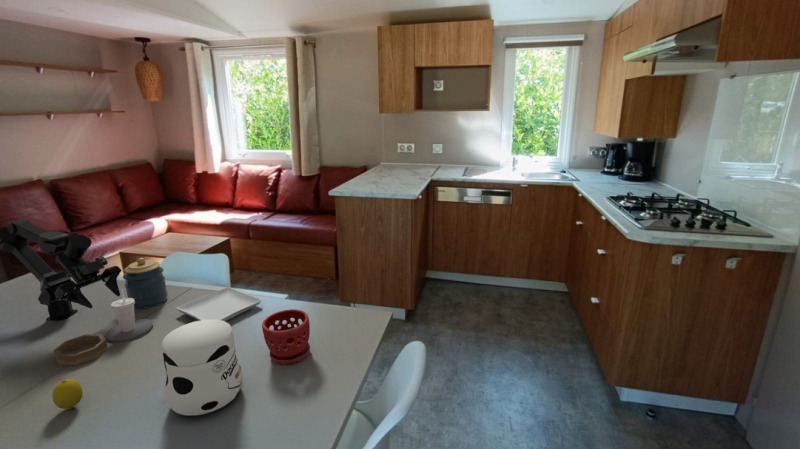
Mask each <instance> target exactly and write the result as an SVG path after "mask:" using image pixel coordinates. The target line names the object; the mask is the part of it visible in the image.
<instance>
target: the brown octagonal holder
mask: <svg viewBox="0 0 800 449" xmlns="http://www.w3.org/2000/svg"><path fill="white" fill-rule="evenodd" d="M89 345H91V346H92V345H94V346H93V347H91V348H89V349H85V350H83V351H80V352H77V353H70V352H71V351H73V350H75V349H79V348H81V347H84V346H89ZM108 349H109V347H108V344H107V340H106V337H105V335H104V336H103V333H91V334H90V333H89V334H83V335H80V336H76V337H74V338H71V339H67V340H65V341H64V342H62V343H61V344H60V345H59V346H57V347H55V349H53V353H54V356H55V360H56V361H57V363H58V364H59V367H61V366H63V367H64V366H79V365H80V364H83V363H86V362H88V361H91V360H94V359H97V358H99V357H100V355H102V354H103V353H104V352H106V350H108Z"/></svg>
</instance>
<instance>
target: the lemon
mask: <svg viewBox="0 0 800 449" xmlns="http://www.w3.org/2000/svg"><path fill="white" fill-rule="evenodd" d="M82 397H83V388H82V385H81V383H80V382H78V380H76V379H72V378H67V379H65V378H64V379H62V380H61V381H60V382H58V383H57V384H56V385H55V386H54V388H53V391H52V401H53V403H54V405H55V406H56V407H58V408H59V409H63V410H65V409H66V410H68V409H73V408H74V407H75V406H77V404H79V403H80V401H81V400H82Z"/></svg>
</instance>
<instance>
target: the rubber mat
mask: <svg viewBox="0 0 800 449" xmlns="http://www.w3.org/2000/svg"><path fill="white" fill-rule="evenodd" d="M153 327H154V326H153V322H152V320H151V319H148V318H135V328H134V329H133V330H131V331H128V332H123V331H122V330H121V328H120V325H119V323H117V324H115V325H113V326H111V327H109V329H107V331H105V334H104V338H105V339H106V341H108V342H111V343H123V342H129V341H133V340H136V339H138V338H141V337H143V336H145V335H146V334H148V333H149V332H151V330H152V329H153Z"/></svg>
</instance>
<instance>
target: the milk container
mask: <svg viewBox="0 0 800 449" xmlns="http://www.w3.org/2000/svg"><path fill="white" fill-rule="evenodd" d="M161 347H162V348H161V350H162V357H163V364H164V368H165V372H166V381H165V388H164V391H165V398H166V401H167V404H168V405H169V407H170V409H171V410H172V411H173V412H175V413H176V414H178V415H180V416H184V417H197V416H198V417H199V416H205V415H207V414H211V413H214V412H216V411H218V410H220V409H223V408H225V407H226V406H227V405H228V404H230V403H232V401H234V400H235V399H236V397H237V396H238V395H239V394H240V391H241V389H242V387H243V381H244V380H243V378H244V376H243V375H244V374H243V369H242V365H241V364H240V361H239V360H238V357H237V353H236V343H235V336H234V332H233V328H232V327H231V324H230V323H229V322H227V321H221V320H216V319H214V320H201V321H199V320H195V321H192V322H189V323H185V324H183V325H180V326H179V327H176V328H175V329H173V330H172V331H170V332H169V333H167V335H165V337H164V338H163V340H162V341H161Z"/></svg>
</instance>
